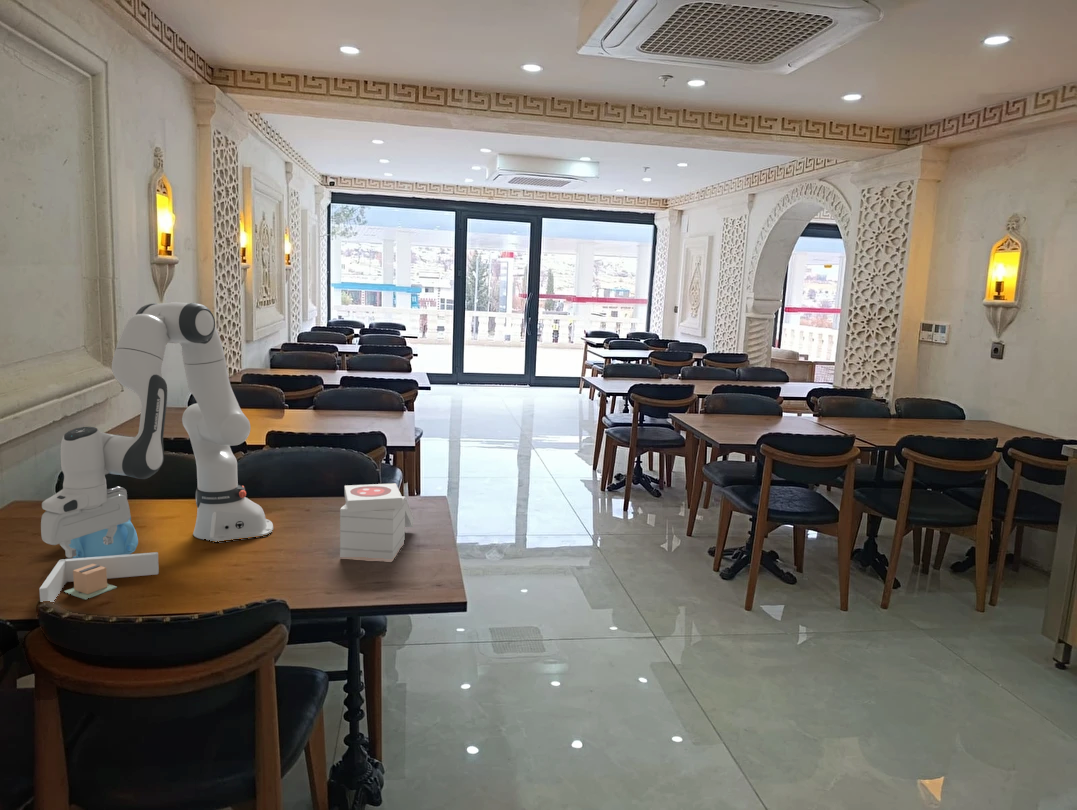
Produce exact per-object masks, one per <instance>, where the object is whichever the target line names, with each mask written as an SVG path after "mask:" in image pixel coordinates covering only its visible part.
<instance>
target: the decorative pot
mask: <svg viewBox="0 0 1077 810" xmlns="http://www.w3.org/2000/svg"><path fill="white" fill-rule="evenodd" d="M131 520H132V516H131V514H130V519H129V521H128V522H125V523H122V524H119V525H117V530H116V532H115V534H114V537H113V543H112V544H109V545H106V544H104V543H103V541H104V540H103V537H105V536H106V534H107V532H108V529H103V530H100V531H97V532H94V533H91V534H88V535H84V536H81V537H78V538H75V539H72V540H71V544H68V545H69V546H70V547H71V548H73V549H76V556H74V557H72V559H73V558H87V557H100V556H113V555H126V554H133V553H134V552H135V551H136V549H137V547H138V545H139V538H138V534H137V530H136V529H135V527H134V524H133V523H132V521H131Z"/></svg>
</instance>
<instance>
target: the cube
mask: <svg viewBox="0 0 1077 810" xmlns="http://www.w3.org/2000/svg"><path fill="white" fill-rule="evenodd" d="M73 578H74V581H73V588H74V590H76V591H79V592H82V593H85V594H90V593H93V592H95V591H98V590H101V589H103V588H106V587H107V584H108V579H107V572H106V568H105V567H102V566H100V565H96V564H90V565H87V566H85V567H82V568H79V569H76V570H73Z"/></svg>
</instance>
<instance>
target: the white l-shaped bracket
mask: <svg viewBox="0 0 1077 810" xmlns="http://www.w3.org/2000/svg"><path fill="white" fill-rule="evenodd" d="M90 564H96V565H100V566H102V567H105V568H106V572H107V580H108V579H119V578H129V577H131V578H132V577H140V576H142V577H143V576H151V575H152V576H153V575H155V576H156V575H159V572H160V571H159V570H160V569H159V552H158V551H155V552H143V553H131V554H126V555H113V556H100V557H87V558H73V557H72V558H65V559H64V558H62V559H59V560H58V561H57V563H56V564H55V566H54V567H53V568H52V570H51V571H50V573H49V574H48V575H47V577H46V579H45V580H44V581H43V583H42V585H41V586H40V587H39V589H38V590H39V602H43V601H50V602H54V603H55V601H56V600H57V598H58V597H57V596H59V595H60V593H61V592H62V590H63V589H64V587H65V586H64V585H66V584H67V583H71V582H73V583H74V578H73V570H76V569H79V568H82V567H85V566H87V565H90ZM62 588H63V589H62ZM117 588H118V586H116V585H113V584H110V583H107V587H106V588H103V589H101V590H98V591H95V592H93V593H90V594H85V593H82V592H79V591H76V590H74V587H72V588H69V589H66V590H64V591H63V593H64V592H65V594H67V593H68V595H70V594H71V596H74V597H77V598H78V599H79V598H80V599H82V600H88V598H89V599H90V598H91V599H92V598H93V597H94V598H95V597H96V596H99V595H101V594H104V593H107V592H109V591H112V590H115V589H117ZM60 591H61V592H60ZM58 594H59V595H58ZM56 597H57V598H56ZM55 599H56V600H55ZM54 600H55V601H54Z"/></svg>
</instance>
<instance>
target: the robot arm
mask: <svg viewBox="0 0 1077 810" xmlns="http://www.w3.org/2000/svg"><path fill="white" fill-rule="evenodd" d="M167 344H179V345H180V347H181V353H182V354H181V356H182V361H183V367H184V373H185V378H186V382H187V388H188V390H189V392H190V393H191V395H192V396H193V397H194V399H195V401H196V403H192V404H191V405H189V406H188V407H187V408H186V409H185V410H184V411H183V413H182V416H181V417H182V418H181V422H182V427H184V429H185V431H186V432H187V434H188V437H189V440H190V444H191V447H192V448H191V449H192V451H193V455H194V457H195V464H196V479H197V480H196V481H197V482H196V483H197V487H196V490H195V504H196V507H197V510H196V511H197V512H196V519H195V520H196V521H195V525H194V529H193V533H192V535H193V536H194V537H195V538H196V539H199V540H204V539H206V541H209V540H210V542H211V541H215V542H217V541H218V542H219V541H224V540H231V539H232V540H233V539H239V538H248V537H255V536H263V535H267V534H269V533H271V532H272V533H273V531H274V524H273V522H272V521H271V520H270V519H267V518H266V514H265V512H264V509H263V508H262V506H260V504H258V503H256V502H254V501H252V500H251V499H249V498H248V497H246V496H247V491H246V487H245V486H244V485H241V484H239V483H238V480H239V479H238V460H237V458H236V456H235V455H234V453H233V451H232V448H231V446H238V445H241V444H243V443H244V442H245V441H247V439H248V437H249V436H250V433H251V427H252V426H251V423H250V420H249V418H248V417H247V416H246V414H245V413H244V412H243V411H242V409H241V407H240V404H239V402H238V400H237V398H236V395H235V393H234V391H233V388H232V386H231V385H232V384H231V382H230V377H229V372H228V367H227V362H226V361H227V360H226V356H225V352H224V348H223V347H224V346H223V342H222V340H221V337H220V334H219V332H218V329H217V327H216V321H215V317H214V315H213V313H212V311H211V310H210V308H209V307H208V306H206V305H204V304H202V303H197V302H190V303H189V302H184V301H183V302H182V301H181V302H180V301H170V302H162V303H149V304H146V305H144V306H141V307H140V308H139V309H138V310H137V311H136V313H135V314H134V315H132V316H131V317H130V318H129V319H128V320H127V322H126V324H125V325H124V328H123V329H122V331H121V334H120V337H119V339H118V341H117V344H116V347H115V351H114V353H113V356H112V361H111V372H112V375H113V377H114V379H115V380H117V382H118V383H119V384H120V385H121V386H122V387H125V389H127V390H129V391H132V393H134V394H136V395H137V396H138V398H139V399H140V402H141V406H140V407H141V408H140V417H139V425H138V426H139V427H138V433H137V434H136V435H135V436H127V435H124V436H123V435H120V434H111V433H107V432H104V431H101V430H100V429H98V428H97V427H95V426H81V427H76V428H73V429H70V430H68V431H66V432H65V433H64V434H63V435H62V439H61V441H60V465H61V467H60V468H61V471H62V473H63V483H62V489H60V490H59V491H58V492H56V493H54V494H53V495H52V496H50V497H48V498H46V499H45V500H43V501H42V503H41V508H42V510H45V512H44V513H42V515H41V518H40V519H41V520H40V521H41V522H40V532H41V534H40V535H41V540H42V541H43V542H44V543H46V544H48V545H52V546H56V545H59V546H61V548H62V549H63V550H64V551H65V557H66V558H67V559H72V558H73V557H74V556H76V549H73V548H71V547H70V546H69V545H68V544H71V540H72V539H75V538H78V537H81V536H84V535H88V534H91V533H94V532H97V531H100V530H103V529H108V532H107V534H106V536H105V537H103V540H104V541H103V543H104V544H106V545H109V544H112V543H113V537H114V534H115V532H116V530H117V525H119V524H122V523H125V522H128V521H129V519H130V515H131V510H130V505H129V501H128V494H127V493H128V492H127V489H125V488H124V487H121V486H115V487H113V488H107V479H106V475H108V474H111V475H118V476H119V475H120V476H127V477H131V478H135V479H138V480H139V479H140V480H146V479H148V478H151V477H152V476H154V475H155V474H156V473H158V471H159V470H161V467H162V466H163V463H164V460H165V453H164V452H165V449H164V434H165V433H164V431H165V425H166V414H167V403H168V385H167V382H166V380H165V379H164V378H163V375H162V374H163V373H162V365H163V361H164V357H165V352H166V347H167ZM272 530H273V531H272ZM272 533H271V534H272ZM269 535H270V534H269ZM263 537H264V536H263ZM248 539H249V538H248ZM233 541H234V540H233ZM219 543H220V542H219Z"/></svg>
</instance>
